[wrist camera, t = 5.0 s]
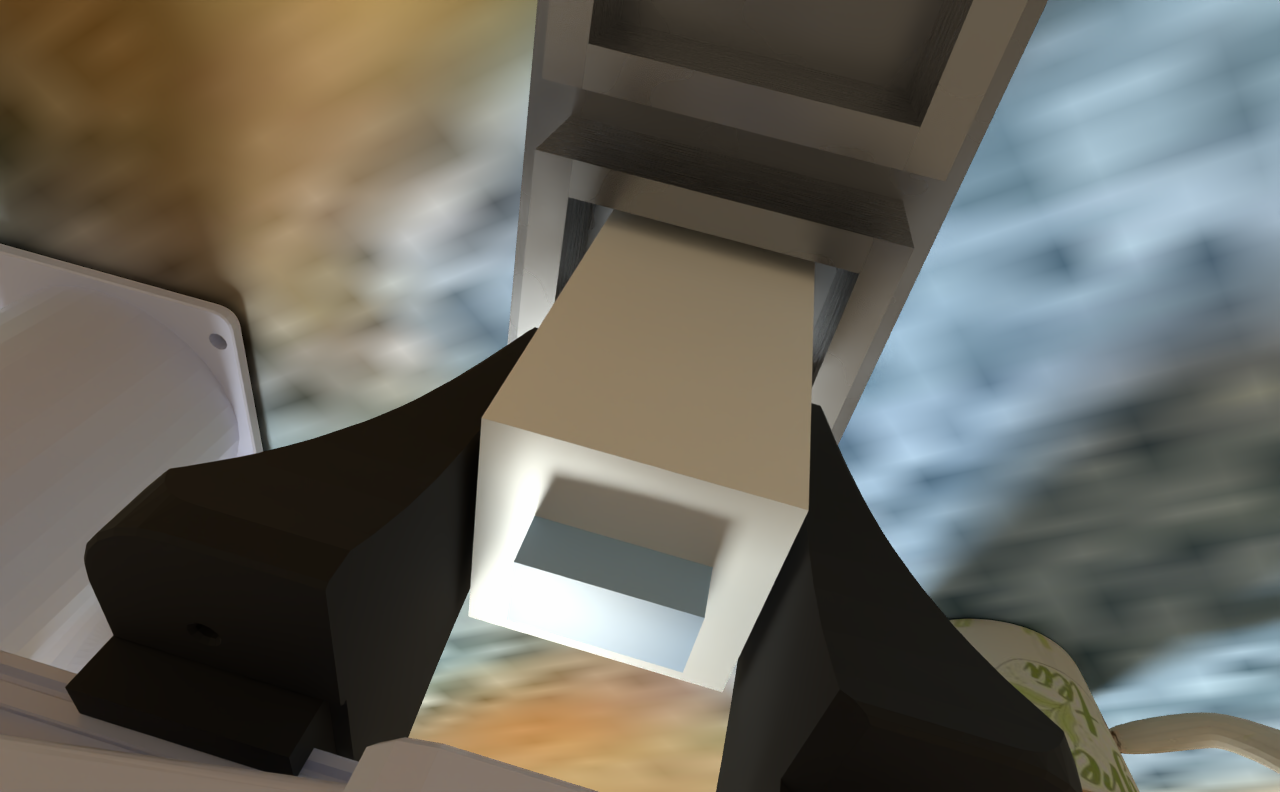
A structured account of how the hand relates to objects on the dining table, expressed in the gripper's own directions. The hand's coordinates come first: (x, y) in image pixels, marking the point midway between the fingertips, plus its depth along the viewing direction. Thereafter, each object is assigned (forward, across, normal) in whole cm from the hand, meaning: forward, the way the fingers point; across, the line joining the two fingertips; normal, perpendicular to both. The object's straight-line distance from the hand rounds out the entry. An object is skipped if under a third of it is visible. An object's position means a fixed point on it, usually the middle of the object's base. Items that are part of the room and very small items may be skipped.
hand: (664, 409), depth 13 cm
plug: (+3, 0, 0) cm, 3 cm away
